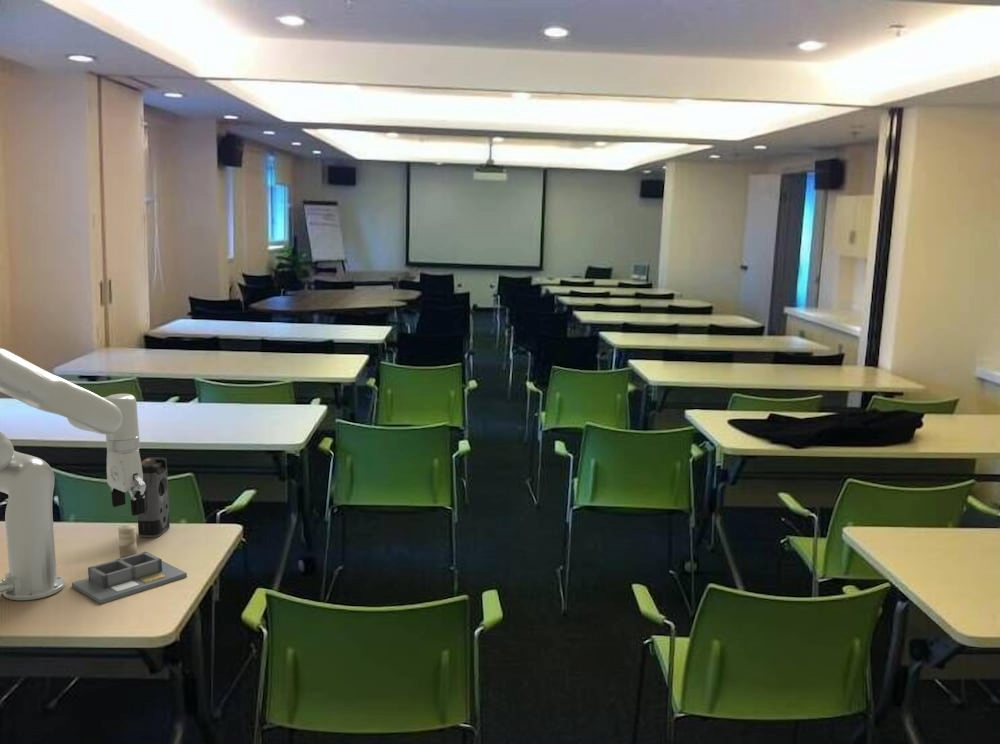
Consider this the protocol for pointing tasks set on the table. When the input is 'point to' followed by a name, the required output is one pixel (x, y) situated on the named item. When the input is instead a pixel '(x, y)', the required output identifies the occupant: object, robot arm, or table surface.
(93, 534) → the table surface
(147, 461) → the electronic device
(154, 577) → the charging dock
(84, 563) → the table surface
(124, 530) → the birch plug
